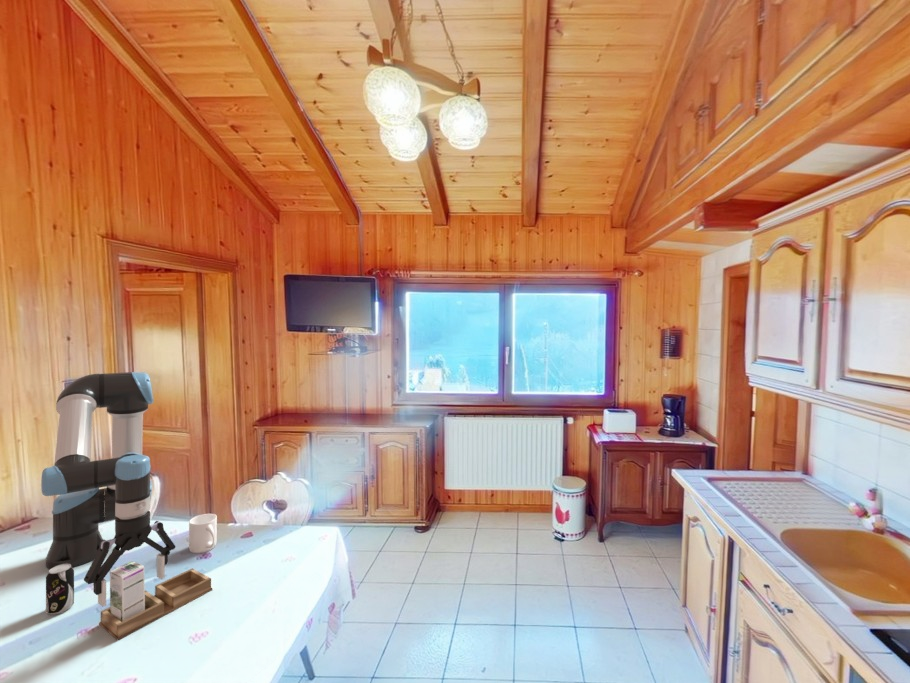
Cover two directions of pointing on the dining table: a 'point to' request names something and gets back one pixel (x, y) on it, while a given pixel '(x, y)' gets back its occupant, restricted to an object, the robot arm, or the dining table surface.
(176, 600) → the rack
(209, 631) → the dining table surface
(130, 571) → the syrup box
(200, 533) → the mug
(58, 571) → the beverage can
